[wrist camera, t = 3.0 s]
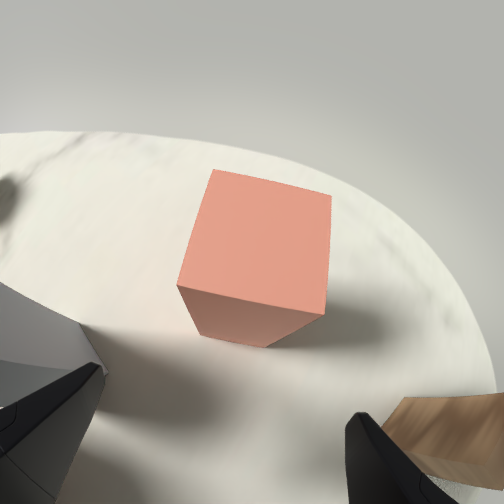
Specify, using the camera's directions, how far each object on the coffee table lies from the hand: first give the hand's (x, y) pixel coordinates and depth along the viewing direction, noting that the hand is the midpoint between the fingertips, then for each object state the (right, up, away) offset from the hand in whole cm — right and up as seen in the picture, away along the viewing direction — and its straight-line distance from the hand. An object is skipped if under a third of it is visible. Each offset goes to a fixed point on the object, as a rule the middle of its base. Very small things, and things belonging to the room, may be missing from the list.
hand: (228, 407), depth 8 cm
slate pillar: (-14, -4, +10) cm, 18 cm away
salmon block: (0, 0, +14) cm, 14 cm away
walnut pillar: (+15, -11, +10) cm, 21 cm away
